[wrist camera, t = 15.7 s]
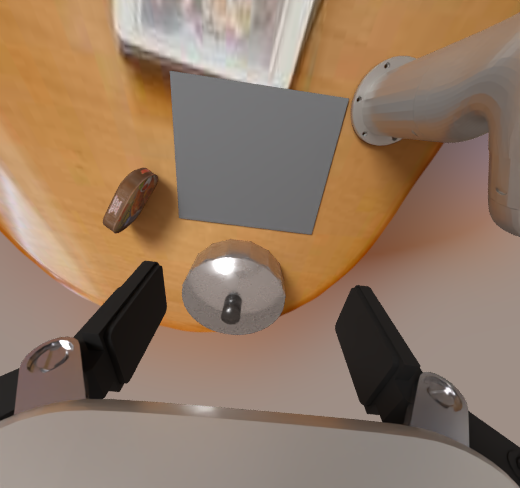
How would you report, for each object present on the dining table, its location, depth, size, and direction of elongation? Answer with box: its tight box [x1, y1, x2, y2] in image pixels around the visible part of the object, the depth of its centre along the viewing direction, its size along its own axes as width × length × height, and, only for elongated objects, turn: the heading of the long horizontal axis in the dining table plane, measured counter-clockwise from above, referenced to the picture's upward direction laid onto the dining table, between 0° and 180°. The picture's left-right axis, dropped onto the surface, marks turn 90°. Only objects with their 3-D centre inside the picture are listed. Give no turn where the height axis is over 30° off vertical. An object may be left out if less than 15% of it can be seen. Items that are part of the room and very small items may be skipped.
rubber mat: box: [170, 71, 349, 234], centre depth 42 cm, size 30×26×1 cm
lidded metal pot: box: [182, 239, 286, 335], centre depth 51 cm, size 24×24×13 cm
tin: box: [103, 168, 158, 233], centre depth 42 cm, size 15×3×8 cm, turn 140°
